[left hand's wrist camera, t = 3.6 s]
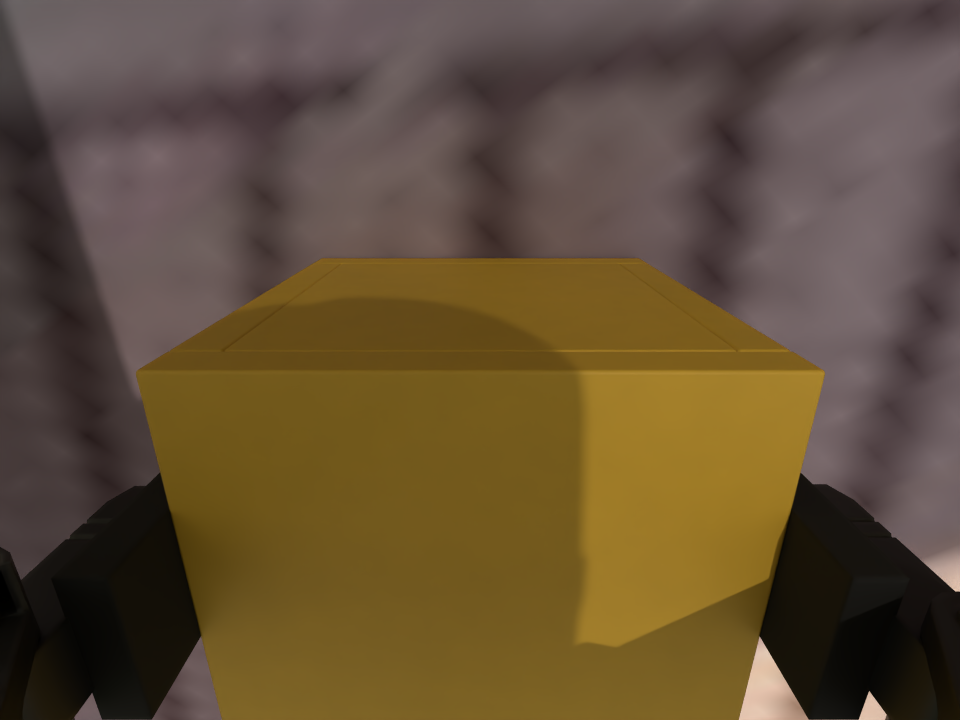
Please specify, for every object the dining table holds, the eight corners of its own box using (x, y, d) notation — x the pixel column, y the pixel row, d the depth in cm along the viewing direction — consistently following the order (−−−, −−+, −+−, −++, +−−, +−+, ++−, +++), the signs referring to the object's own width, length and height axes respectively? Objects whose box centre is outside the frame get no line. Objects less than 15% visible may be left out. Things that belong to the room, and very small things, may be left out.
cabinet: (596, 665, 22) (672, 991, 14) (363, 665, 23) (288, 990, 14) (640, 257, 16) (827, 370, 8) (320, 257, 16) (132, 371, 8)
